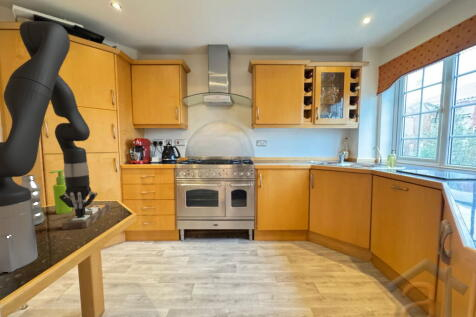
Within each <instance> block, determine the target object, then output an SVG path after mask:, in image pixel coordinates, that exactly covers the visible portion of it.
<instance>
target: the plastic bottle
mask: <svg viewBox="0 0 476 317" xmlns="http://www.w3.org/2000/svg"><path fill="white" fill-rule="evenodd" d="M20 177H21V179H20V180H21V182H22V183H20V184H19V185H20V186H23V187H25V188H28V189H29V190H30V192H31V199H32V207H33V217H34V226H36V225H39V224H42V223H43V221H44V220H45V213H44V211H43V207H42V204H41V203H42V202H41V193H42V192H41V191H42V190H41V189H42V187H41V186H40V184H39V183H38V182H36V181H35V180H36V176H35V174H29V175H28V174H26V175H24V176H20Z"/></svg>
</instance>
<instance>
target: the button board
mask: <svg viewBox="0 0 476 317" xmlns="http://www.w3.org/2000/svg"><path fill="white" fill-rule="evenodd" d="M94 205H95V204H93V205H91V206H88V208H91V207H93V206H94ZM104 205H105V207H103V208H102V209H98V211H97V212H96V213H94V214H90V217H88V218H87V219H85V220H82V221H71V220H72V219H73V218H75V217H76V215H74V216H72V217H71V218H69V219H68V220H66V221H64V222H62V229H63V230H74V229H87V228H89V226H91V225H92V224H94V223H95V222H96V221H97V220H99V219H100V218H101V217H103V216H104V215H106V214H107V213H108V212H110V211H111V210H112V205H111V204H104Z"/></svg>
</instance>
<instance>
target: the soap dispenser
mask: <svg viewBox="0 0 476 317" xmlns="http://www.w3.org/2000/svg"><path fill="white" fill-rule="evenodd" d="M54 173H57V177H56V178H55V182H56V184H54V185H53V186H52V188H53V190H52V191H53V198H54V206H55V214H56V215H63V214H68V213H71V212H72V211H73V208H72V207H71V208H70V207H68V206H67V205H66V204H65V203H64V202H63V201H62V200H61V199H60V198H59V196H61V195H63V194H65V191H66V186H65V177H64V169H57V170H51V171H49V174H54ZM69 198H70V197H69ZM70 199H71V198H70Z"/></svg>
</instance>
